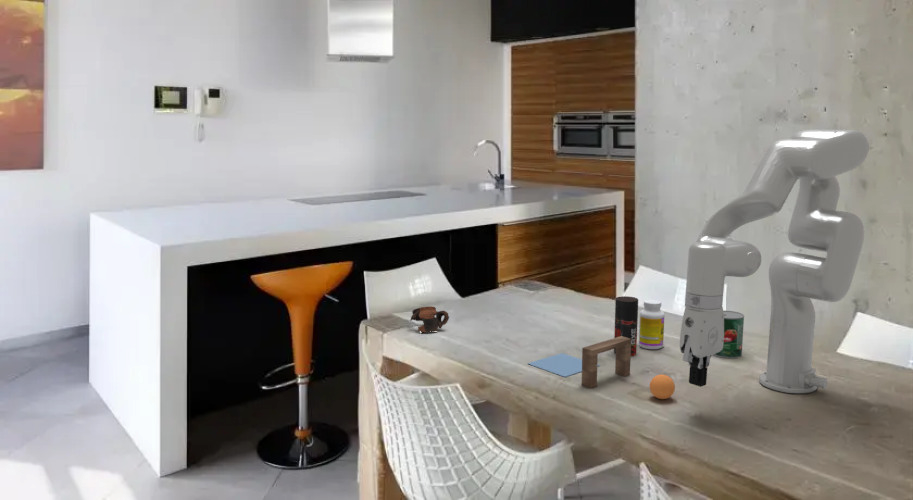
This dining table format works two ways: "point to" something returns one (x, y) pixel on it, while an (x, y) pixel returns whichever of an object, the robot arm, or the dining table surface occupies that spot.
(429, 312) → the pottery mug
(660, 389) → the ball
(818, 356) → the dining table surface
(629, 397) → the dining table surface
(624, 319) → the deodorant
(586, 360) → the bridge
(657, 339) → the supplement bottle
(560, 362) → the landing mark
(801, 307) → the robot arm
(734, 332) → the canned tomato
